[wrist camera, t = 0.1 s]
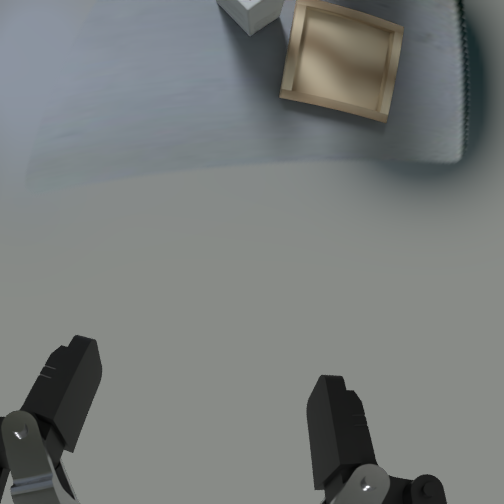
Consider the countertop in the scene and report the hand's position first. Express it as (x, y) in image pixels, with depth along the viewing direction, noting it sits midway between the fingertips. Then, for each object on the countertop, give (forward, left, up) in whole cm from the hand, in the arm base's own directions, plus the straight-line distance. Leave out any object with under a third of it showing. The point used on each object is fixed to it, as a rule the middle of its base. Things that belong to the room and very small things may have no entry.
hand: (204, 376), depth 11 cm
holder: (-15, +9, -29) cm, 34 cm away
